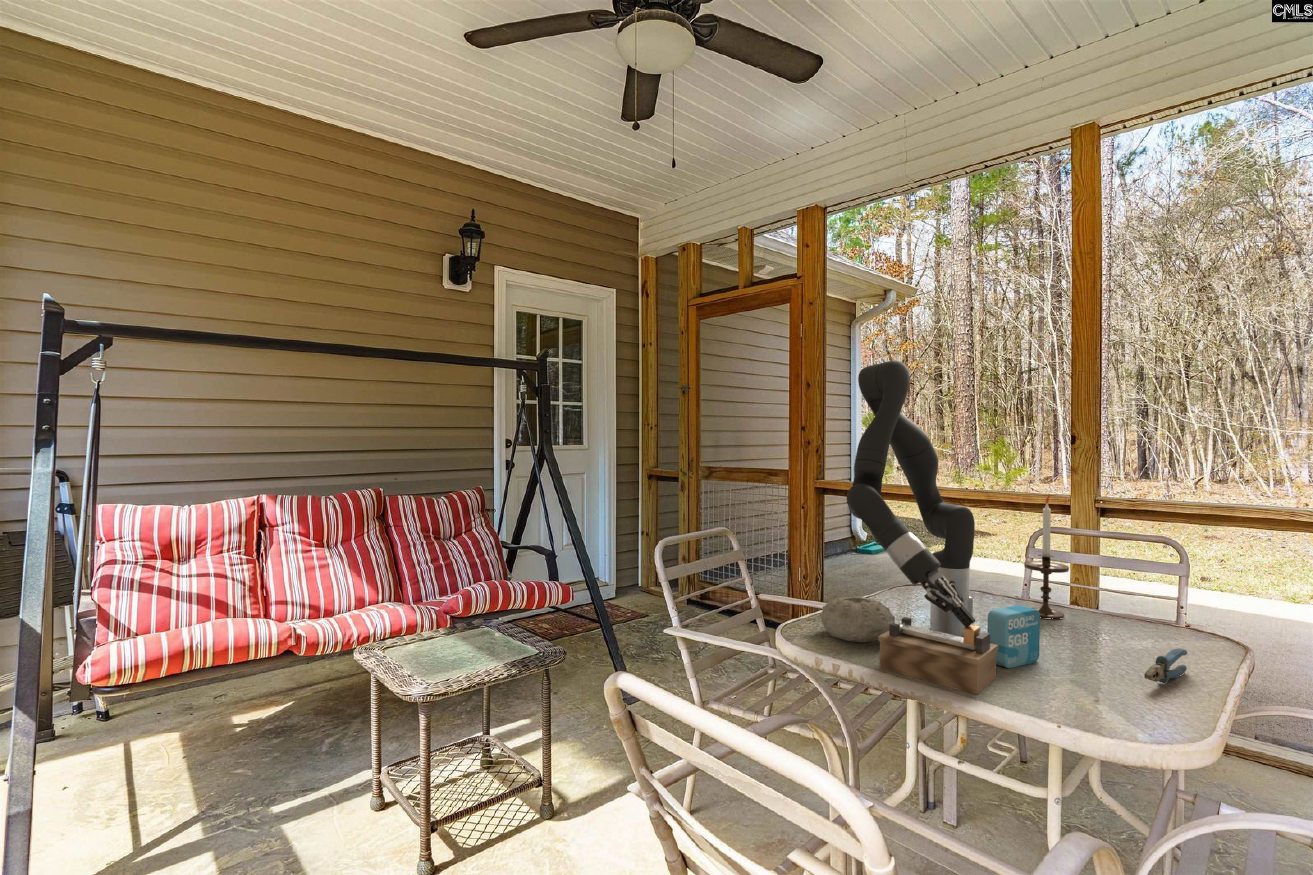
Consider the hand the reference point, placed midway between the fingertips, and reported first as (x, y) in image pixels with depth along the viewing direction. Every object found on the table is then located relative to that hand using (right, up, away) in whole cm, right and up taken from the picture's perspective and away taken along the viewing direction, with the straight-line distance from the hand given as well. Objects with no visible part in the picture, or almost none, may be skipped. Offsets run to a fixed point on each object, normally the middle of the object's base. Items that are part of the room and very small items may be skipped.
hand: (971, 624), depth 131 cm
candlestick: (+46, -12, +49) cm, 68 cm away
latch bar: (-5, -5, +5) cm, 9 cm away
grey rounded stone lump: (-15, -12, +28) cm, 34 cm away
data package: (+15, -12, +12) cm, 23 cm away
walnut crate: (-5, -12, +5) cm, 14 cm away
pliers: (+41, -13, +1) cm, 43 cm away
